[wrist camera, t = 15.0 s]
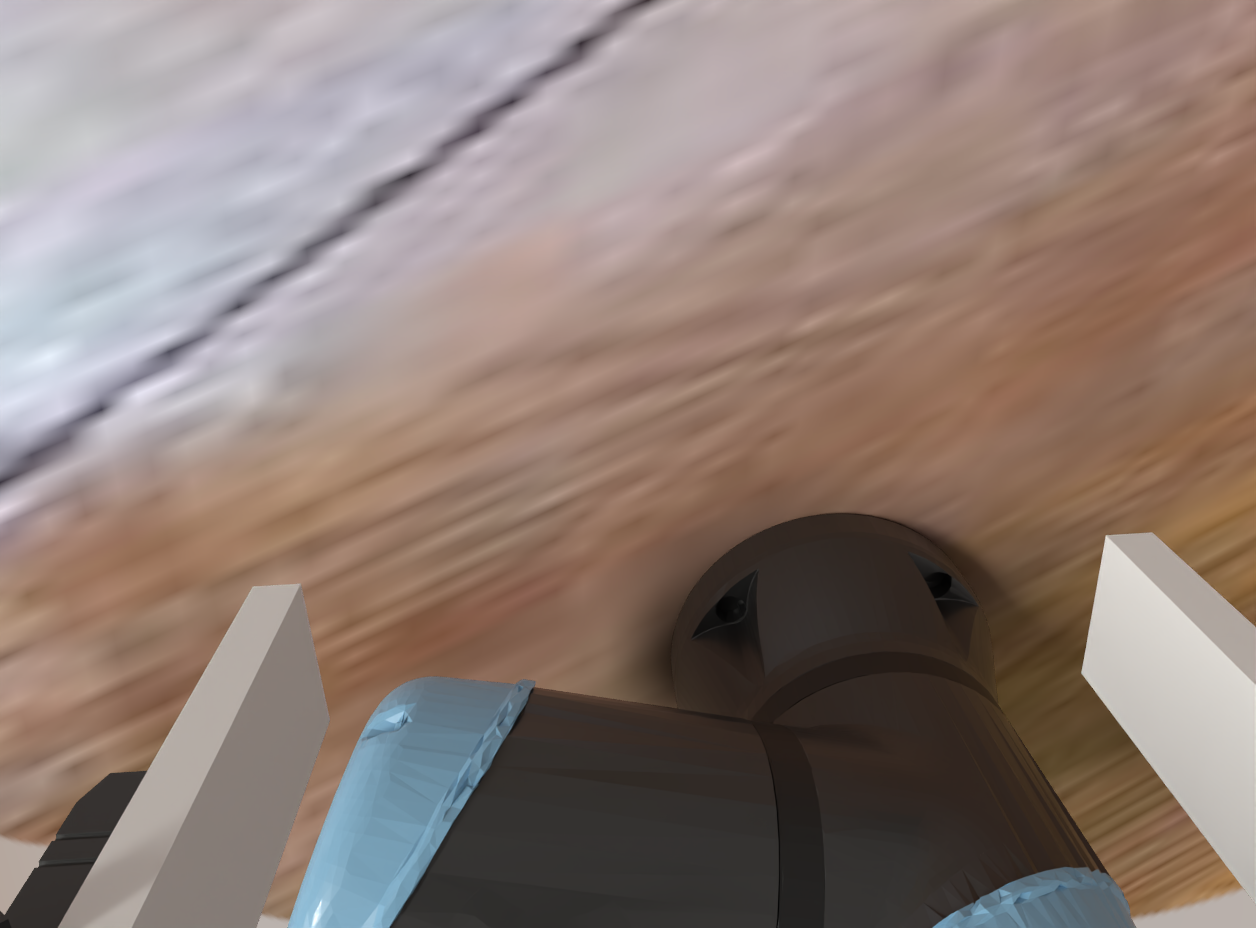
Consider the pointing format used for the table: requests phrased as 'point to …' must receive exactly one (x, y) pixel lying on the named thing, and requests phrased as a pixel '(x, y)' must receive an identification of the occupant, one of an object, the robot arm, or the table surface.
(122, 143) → the table surface
